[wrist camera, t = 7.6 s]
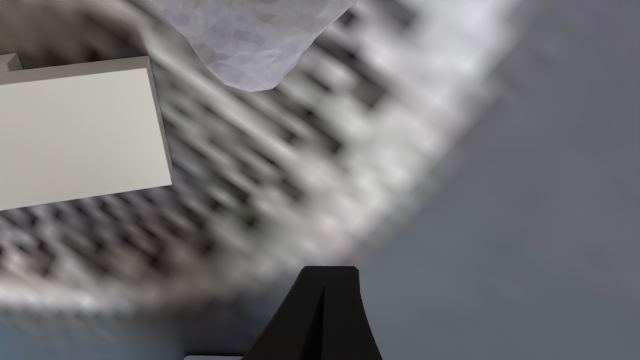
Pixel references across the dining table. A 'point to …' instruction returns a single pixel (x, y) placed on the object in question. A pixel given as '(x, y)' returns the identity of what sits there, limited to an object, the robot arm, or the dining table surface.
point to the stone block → (251, 35)
